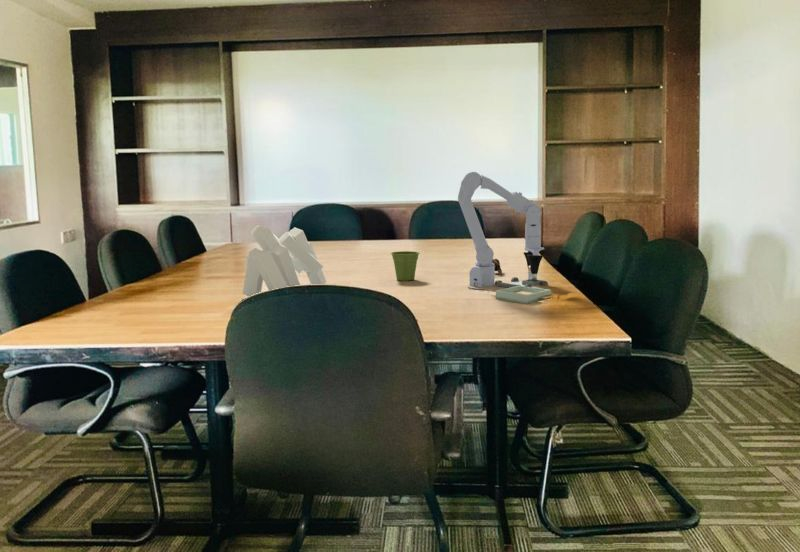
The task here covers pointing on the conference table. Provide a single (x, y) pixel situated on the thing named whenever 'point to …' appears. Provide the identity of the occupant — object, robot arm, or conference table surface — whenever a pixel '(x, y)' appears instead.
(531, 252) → the robot arm
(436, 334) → the conference table surface
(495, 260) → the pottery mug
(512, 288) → the tray
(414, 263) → the plant pot
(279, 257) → the pile of blocks
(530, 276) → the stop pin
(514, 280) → the trolley deck
